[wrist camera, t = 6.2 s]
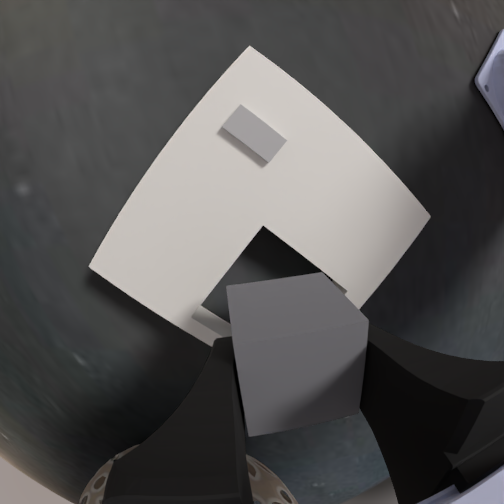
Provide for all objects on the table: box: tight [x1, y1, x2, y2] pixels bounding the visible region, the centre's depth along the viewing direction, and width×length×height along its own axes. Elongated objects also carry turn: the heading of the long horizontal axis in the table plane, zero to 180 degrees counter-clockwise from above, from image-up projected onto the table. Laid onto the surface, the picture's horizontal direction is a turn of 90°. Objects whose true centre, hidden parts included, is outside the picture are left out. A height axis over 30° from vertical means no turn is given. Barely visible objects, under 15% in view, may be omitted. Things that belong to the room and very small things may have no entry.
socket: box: [89, 46, 431, 347], centre depth 14 cm, size 12×12×2 cm
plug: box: [226, 272, 369, 437], centre depth 11 cm, size 4×4×5 cm
